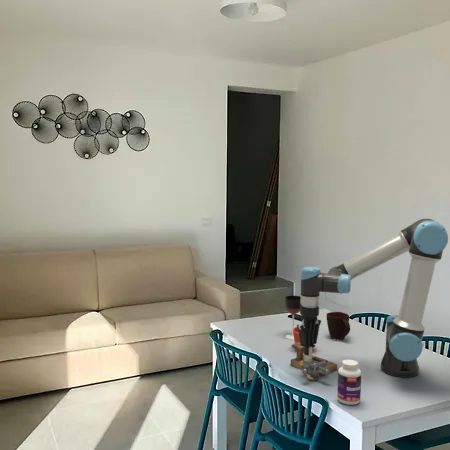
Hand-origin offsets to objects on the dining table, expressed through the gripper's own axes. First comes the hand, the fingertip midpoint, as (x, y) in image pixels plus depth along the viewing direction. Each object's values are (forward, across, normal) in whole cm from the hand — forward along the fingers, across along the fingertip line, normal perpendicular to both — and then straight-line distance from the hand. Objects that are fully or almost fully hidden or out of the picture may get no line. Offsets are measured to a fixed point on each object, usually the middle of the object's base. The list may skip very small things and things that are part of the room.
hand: (308, 362), depth 206 cm
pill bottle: (+5, +8, +25) cm, 27 cm away
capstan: (+5, +2, +5) cm, 8 cm away
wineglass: (+5, -32, -35) cm, 48 cm away
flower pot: (+5, -21, -19) cm, 29 cm away
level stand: (+5, -7, -3) cm, 9 cm away
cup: (+5, -46, -17) cm, 50 cm away
